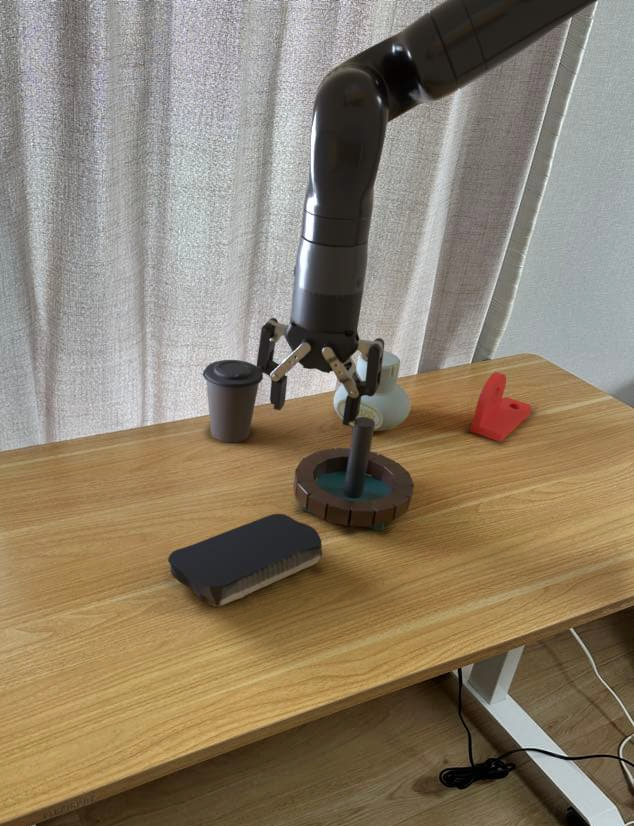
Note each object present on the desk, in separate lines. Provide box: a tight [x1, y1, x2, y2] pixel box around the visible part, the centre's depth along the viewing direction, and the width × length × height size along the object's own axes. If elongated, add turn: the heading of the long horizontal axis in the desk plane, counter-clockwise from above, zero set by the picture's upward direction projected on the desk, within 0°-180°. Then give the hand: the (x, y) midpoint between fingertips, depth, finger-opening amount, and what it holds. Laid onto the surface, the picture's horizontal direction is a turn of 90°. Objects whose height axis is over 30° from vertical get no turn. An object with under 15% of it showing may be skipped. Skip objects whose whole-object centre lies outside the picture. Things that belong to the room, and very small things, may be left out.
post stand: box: [301, 417, 391, 532], centre depth 97 cm, size 10×10×11 cm
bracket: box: [469, 371, 533, 443], centre depth 117 cm, size 12×4×8 cm, turn 141°
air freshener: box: [333, 350, 412, 432], centre depth 114 cm, size 11×8×10 cm
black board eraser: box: [167, 513, 323, 607], centre depth 87 cm, size 16×8×4 cm, turn 126°
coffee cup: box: [202, 359, 264, 443], centre depth 110 cm, size 8×8×10 cm
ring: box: [293, 447, 415, 528], centre depth 99 cm, size 14×14×2 cm
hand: (312, 414), depth 96 cm, fingers open, 8 cm apart
